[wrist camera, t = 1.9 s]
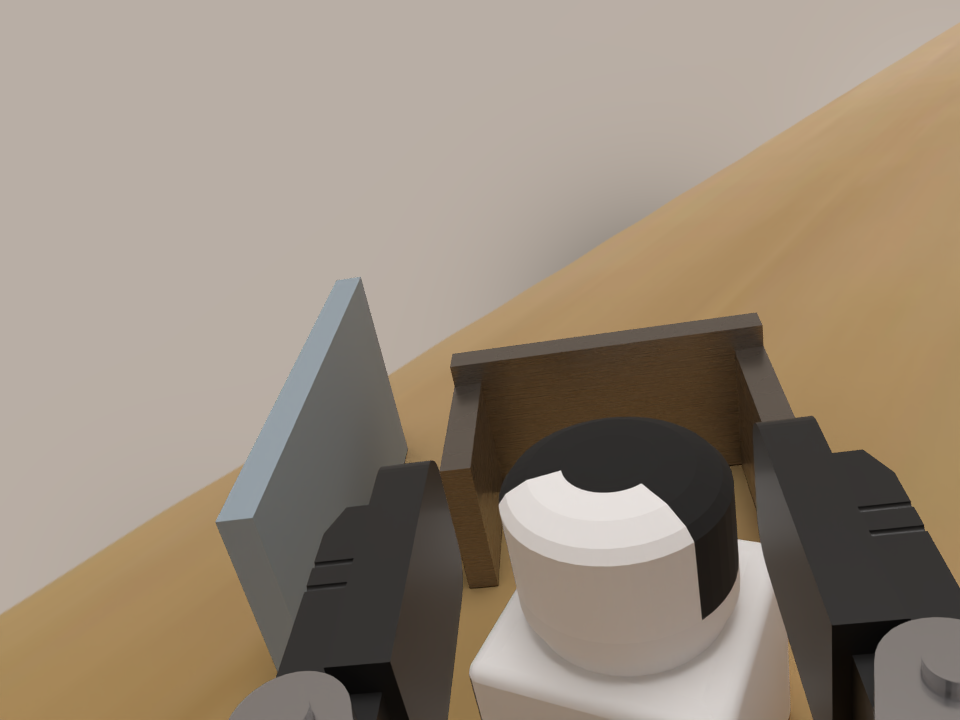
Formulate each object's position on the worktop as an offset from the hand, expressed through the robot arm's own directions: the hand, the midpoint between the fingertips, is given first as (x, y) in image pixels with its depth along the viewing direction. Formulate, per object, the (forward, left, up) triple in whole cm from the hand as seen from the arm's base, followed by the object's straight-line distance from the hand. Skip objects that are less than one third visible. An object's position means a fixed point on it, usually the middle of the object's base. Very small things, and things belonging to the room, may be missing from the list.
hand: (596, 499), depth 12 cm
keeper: (0, +22, -18) cm, 28 cm away
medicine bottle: (0, +9, -18) cm, 21 cm away
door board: (-11, +20, -18) cm, 29 cm away
